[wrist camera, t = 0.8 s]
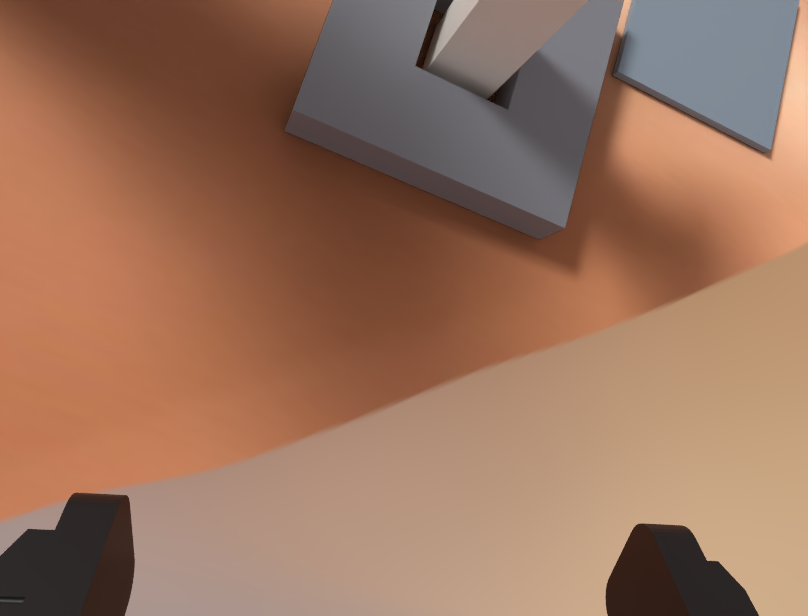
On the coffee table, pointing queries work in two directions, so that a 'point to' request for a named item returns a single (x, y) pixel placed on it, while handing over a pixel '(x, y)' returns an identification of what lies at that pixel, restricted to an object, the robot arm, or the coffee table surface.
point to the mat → (712, 60)
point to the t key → (492, 39)
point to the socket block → (458, 111)
